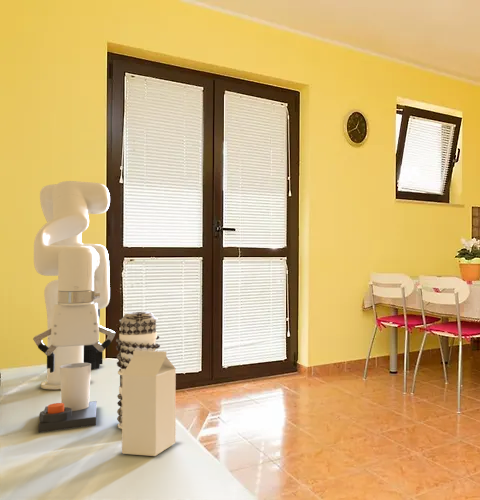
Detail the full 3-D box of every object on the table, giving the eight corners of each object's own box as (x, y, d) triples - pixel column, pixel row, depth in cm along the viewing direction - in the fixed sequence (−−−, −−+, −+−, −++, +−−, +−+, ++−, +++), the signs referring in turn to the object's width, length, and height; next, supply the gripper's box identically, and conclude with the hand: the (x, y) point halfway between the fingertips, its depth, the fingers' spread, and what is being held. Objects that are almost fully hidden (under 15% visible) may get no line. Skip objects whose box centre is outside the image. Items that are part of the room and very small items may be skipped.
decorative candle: (116, 420, 118) (116, 311, 119) (159, 415, 122) (159, 310, 122) (114, 432, 110) (114, 315, 110) (160, 427, 113) (160, 313, 114)
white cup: (70, 403, 126) (70, 362, 126) (96, 403, 125) (96, 362, 126) (53, 411, 119) (53, 368, 119) (81, 411, 119) (81, 368, 119)
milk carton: (155, 457, 96) (155, 354, 96) (121, 454, 97) (122, 353, 98) (175, 443, 103) (175, 348, 103) (143, 441, 104) (144, 347, 104)
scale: (45, 414, 123) (45, 399, 123) (96, 408, 128) (96, 394, 128) (38, 433, 110) (38, 416, 110) (95, 425, 114) (96, 409, 115)
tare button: (48, 411, 115) (48, 403, 115) (64, 409, 116) (64, 402, 116) (46, 415, 112) (47, 407, 112) (63, 413, 113) (63, 405, 113)
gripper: (115, 295, 130) (114, 363, 130) (35, 297, 122) (35, 369, 122) (116, 298, 123) (115, 369, 123) (31, 300, 116) (31, 376, 116)
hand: (75, 369), depth 123 cm, fingers open, 9 cm apart
